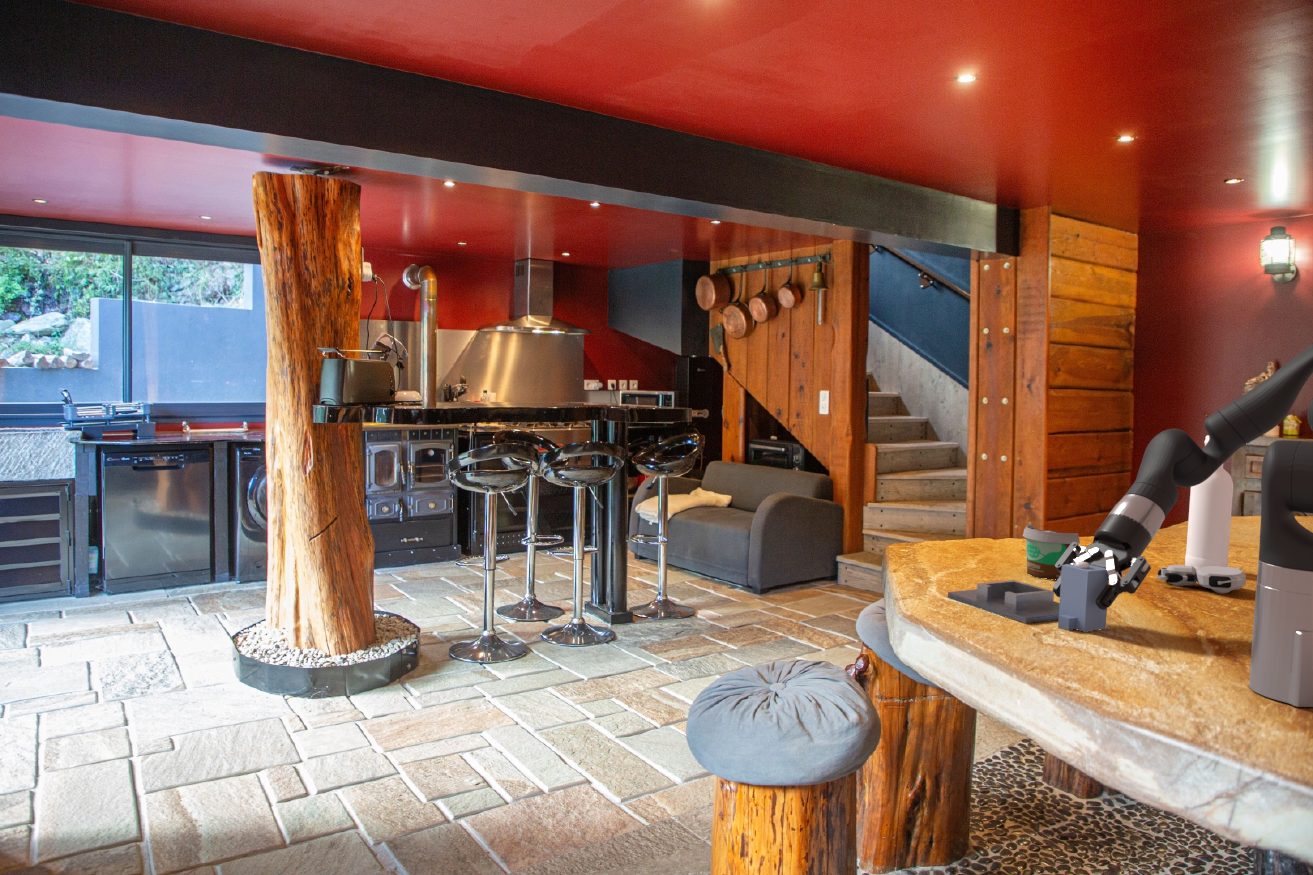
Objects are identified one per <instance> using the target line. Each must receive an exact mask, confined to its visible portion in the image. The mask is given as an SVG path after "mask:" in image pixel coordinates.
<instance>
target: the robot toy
mask: <svg viewBox="0 0 1313 875" xmlns="http://www.w3.org/2000/svg"><path fill="white" fill-rule="evenodd" d="M1156 579H1157V580H1160V581H1163V582H1166V583H1168V584H1171V585H1173V586H1174V587H1183V586H1192V587H1193V586H1194V585H1195V584H1196V583H1197V584H1198V585H1199V586H1200V587H1202V588H1206V589H1207V588H1208V589H1211V590H1212V591H1213V592H1214V593H1217V594H1223V595H1224V594H1227V593H1230V592H1231V591H1233V590H1235V591H1236V590H1239V589H1241V588H1243V587H1245V585H1246V584H1247V574H1246V573H1245V572H1244V571H1243V568H1241V567H1238V568H1237V567H1231V566H1228V567H1220V566H1204V567H1201V568H1199V569H1198V570H1196V569H1195V568H1194V567H1193V566H1187V565H1185V564H1171V565H1169V566H1165V567H1164V566H1163V567H1161V568H1160V569H1159V570H1158V571H1157V576H1156Z"/></svg>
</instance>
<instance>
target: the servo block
mask: <svg viewBox="0 0 1313 875" xmlns="http://www.w3.org/2000/svg"><path fill="white" fill-rule="evenodd" d="M1107 584H1108V585H1110V583H1109V575H1108V573H1107V569H1106V568H1102V567H1097V566H1093V565H1089V563H1087V562H1081V561H1077V562H1076V564H1067V565H1062V571H1061V587H1060V597H1059V603H1060V604H1059V620H1057V621H1058V622H1057V624H1058V625H1057V627H1059V628H1058V629H1062V630H1064V629H1066V630H1065V631H1067V630H1071V631H1074V630H1073V629H1078V630H1081V631H1083V632H1082V633H1088V632H1087V631H1091V632H1093V631H1092V630H1098V631H1100V630H1099V629H1105V630H1106V628H1107V613H1108V608H1106V609H1105V610H1102V609H1099V607H1098V606H1097V605H1096V603H1095V600H1096V599H1097V597H1098V596H1099V594H1100V593H1101V592H1102V590H1103V589H1104V587H1105V586H1106V585H1107ZM1078 630H1077V631H1078ZM1081 631H1080V632H1081Z"/></svg>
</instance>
